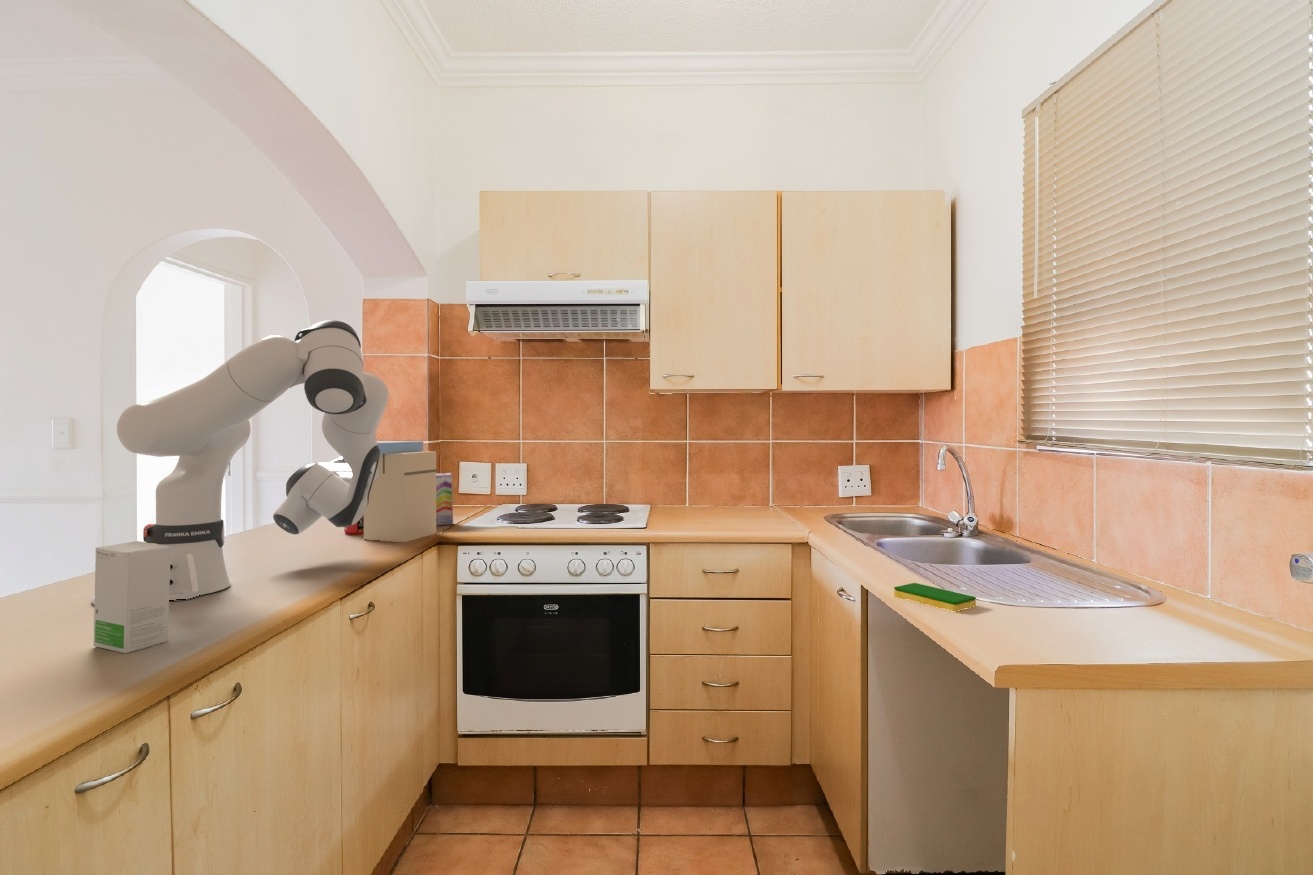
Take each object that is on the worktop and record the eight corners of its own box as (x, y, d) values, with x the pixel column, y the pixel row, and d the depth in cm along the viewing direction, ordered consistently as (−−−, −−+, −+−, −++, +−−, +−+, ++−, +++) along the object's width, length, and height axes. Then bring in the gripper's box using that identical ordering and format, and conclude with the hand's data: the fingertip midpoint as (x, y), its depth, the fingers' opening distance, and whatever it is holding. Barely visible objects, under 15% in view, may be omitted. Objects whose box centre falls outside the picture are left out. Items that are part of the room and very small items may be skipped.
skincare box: (92, 647, 102) (91, 547, 101) (139, 634, 108) (137, 540, 108) (127, 654, 99) (126, 551, 98) (173, 640, 105) (172, 543, 105)
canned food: (361, 535, 203) (361, 500, 203) (338, 534, 204) (338, 499, 204) (376, 531, 210) (376, 497, 210) (354, 530, 212) (354, 496, 212)
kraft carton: (404, 542, 192) (404, 453, 191) (363, 539, 195) (363, 452, 195) (436, 533, 207) (436, 451, 207) (397, 531, 211) (397, 450, 210)
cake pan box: (392, 528, 217) (392, 475, 217) (393, 526, 222) (392, 474, 222) (453, 525, 224) (453, 473, 224) (452, 523, 229) (452, 472, 229)
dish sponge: (955, 614, 124) (955, 602, 124) (892, 598, 135) (893, 586, 135) (976, 609, 128) (976, 596, 128) (914, 593, 139) (914, 582, 139)
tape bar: (370, 454, 184) (370, 443, 184) (358, 453, 185) (357, 443, 185) (423, 450, 209) (423, 441, 209) (412, 450, 210) (412, 441, 210)
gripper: (356, 478, 167) (387, 449, 178) (290, 476, 172) (324, 448, 184) (364, 498, 170) (394, 469, 182) (299, 496, 175) (332, 467, 187)
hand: (358, 458), depth 183 cm, fingers open, 8 cm apart
